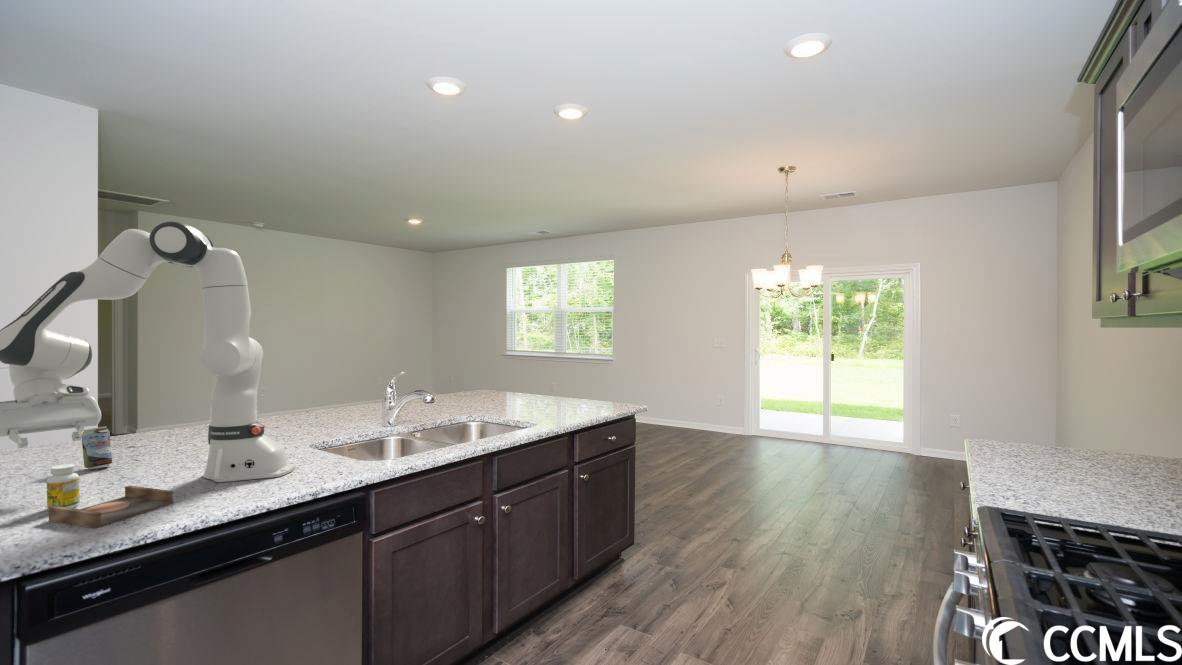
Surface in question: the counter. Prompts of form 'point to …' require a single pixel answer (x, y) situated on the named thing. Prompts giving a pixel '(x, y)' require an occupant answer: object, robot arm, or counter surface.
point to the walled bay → (114, 508)
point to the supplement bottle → (63, 487)
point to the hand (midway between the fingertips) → (51, 442)
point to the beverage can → (96, 448)
